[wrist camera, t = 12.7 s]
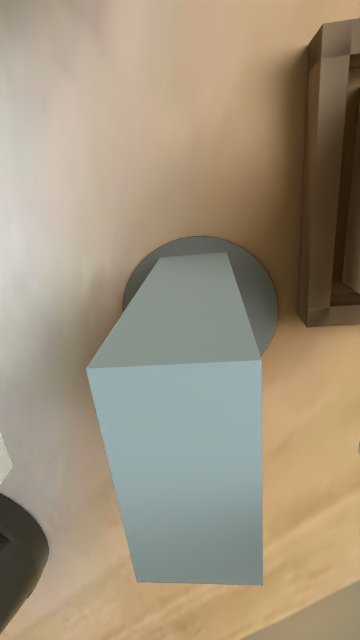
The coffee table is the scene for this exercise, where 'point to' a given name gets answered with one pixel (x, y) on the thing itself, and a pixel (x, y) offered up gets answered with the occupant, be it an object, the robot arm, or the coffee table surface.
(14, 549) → the robot arm
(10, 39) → the coffee table surface
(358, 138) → the offcut
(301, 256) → the rack
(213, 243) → the coaster
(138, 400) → the light blue block
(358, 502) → the coffee table surface
